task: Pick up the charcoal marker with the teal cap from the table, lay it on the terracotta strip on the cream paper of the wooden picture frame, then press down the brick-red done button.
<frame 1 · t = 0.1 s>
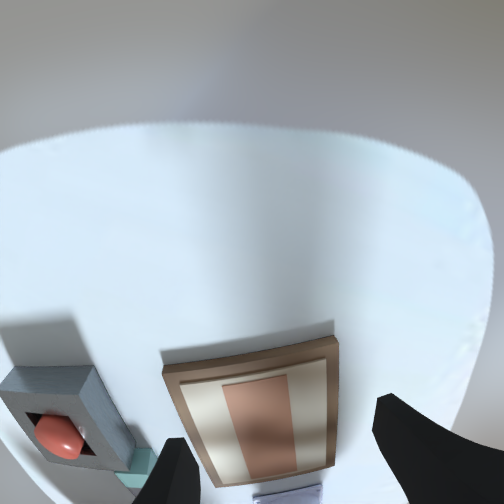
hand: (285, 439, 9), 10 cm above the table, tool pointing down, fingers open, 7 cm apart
wooden picture frame: (263, 427, 22), on the table
done button: (60, 434, 17), point 3 cm above the table, slide at 0.0 cm
button housing: (72, 408, 20), on the table
marker: (156, 477, 23), on the table
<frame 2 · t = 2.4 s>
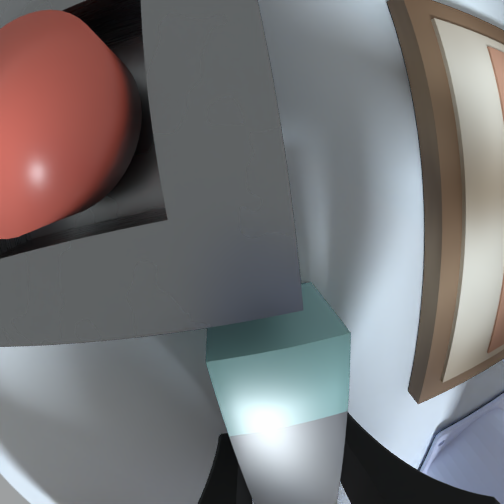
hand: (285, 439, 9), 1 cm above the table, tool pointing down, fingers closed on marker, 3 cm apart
done button: (34, 124, 4), point 3 cm above the table, slide at 0.0 cm
button housing: (96, 136, 7), on the table
marker: (279, 414, 11), on the table, touching gripper
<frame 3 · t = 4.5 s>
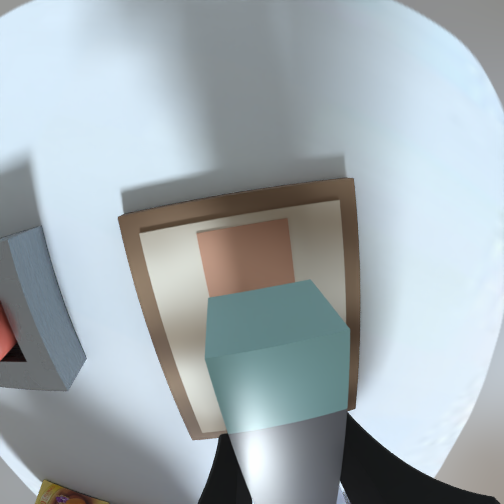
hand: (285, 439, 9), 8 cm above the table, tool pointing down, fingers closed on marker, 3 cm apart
wooden picture frame: (258, 330, 17), on the table
button housing: (14, 304, 15), on the table
candy box: (78, 496, 22), on the table
marker: (278, 412, 11), point 7 cm above the table, touching gripper
when the fingers open (4 cm above the table, at t = 5.6 s): marker drops 1 cm, resting on wooden picture frame.
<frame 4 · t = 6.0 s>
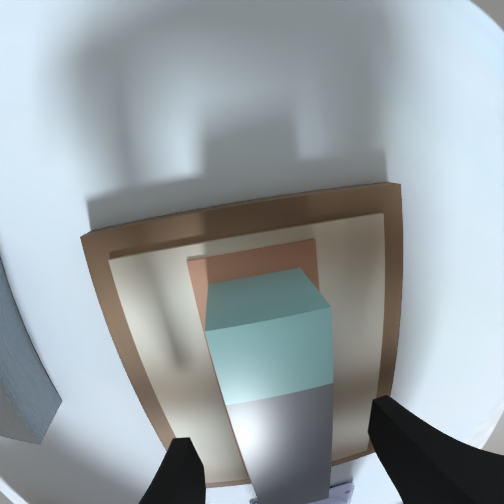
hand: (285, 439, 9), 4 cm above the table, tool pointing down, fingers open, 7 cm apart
wooden picture frame: (269, 377, 13), on the table
marker: (273, 394, 12), point 1 cm above the table, touching wooden picture frame
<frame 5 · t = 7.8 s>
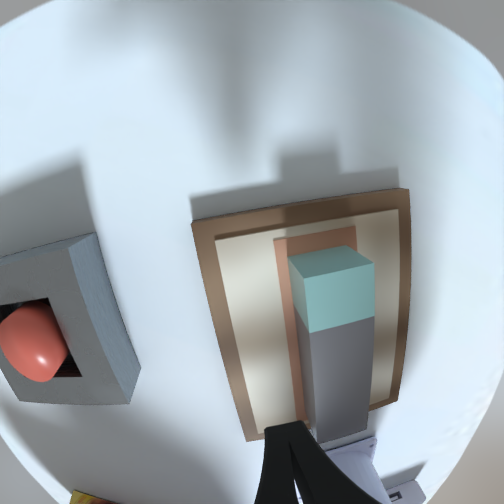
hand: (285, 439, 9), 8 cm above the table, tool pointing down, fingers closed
wooden picture frame: (318, 331, 18), on the table
done button: (34, 341, 13), point 3 cm above the table, slide at 0.0 cm
button housing: (58, 315, 16), on the table
marker: (324, 340, 17), point 1 cm above the table, touching wooden picture frame
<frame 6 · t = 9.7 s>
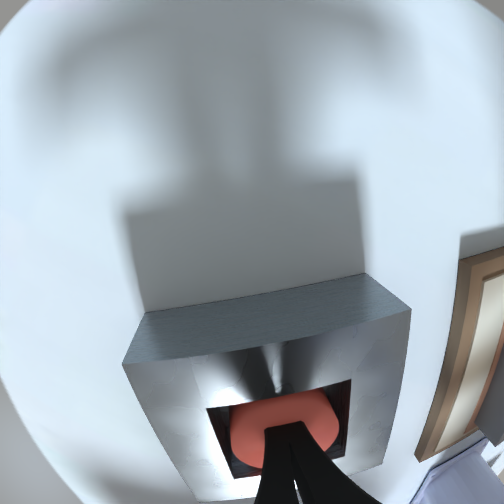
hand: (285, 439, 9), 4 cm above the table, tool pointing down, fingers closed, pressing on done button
wooden picture frame: (498, 351, 15), on the table
done button: (281, 421, 10), point 2 cm above the table, slide at 0.9 cm, touching gripper
button housing: (271, 383, 13), on the table
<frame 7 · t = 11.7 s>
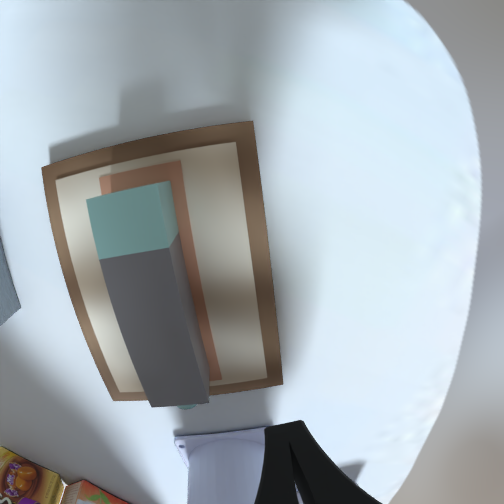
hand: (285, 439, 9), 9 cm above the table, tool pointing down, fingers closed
wooden picture frame: (165, 281, 17), on the table
candy box: (32, 466, 22), on the table
marker: (160, 289, 16), point 1 cm above the table, touching wooden picture frame
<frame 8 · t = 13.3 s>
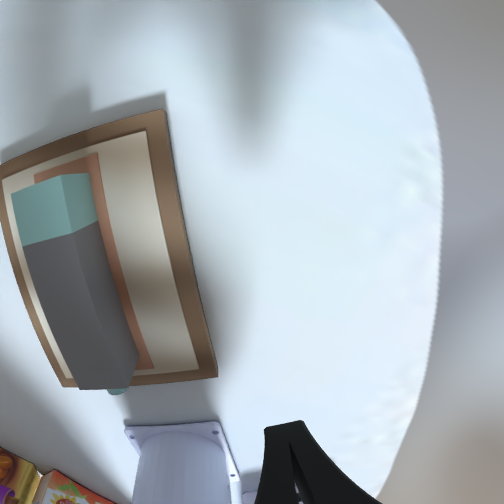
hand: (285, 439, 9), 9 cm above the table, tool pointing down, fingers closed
wooden picture frame: (96, 270, 17), on the table
cracker box: (94, 498, 24), on the table
candy box: (11, 457, 21), on the table
marker: (87, 276, 15), point 1 cm above the table, touching wooden picture frame
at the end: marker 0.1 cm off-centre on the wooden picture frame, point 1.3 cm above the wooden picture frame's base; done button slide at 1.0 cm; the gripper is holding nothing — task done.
